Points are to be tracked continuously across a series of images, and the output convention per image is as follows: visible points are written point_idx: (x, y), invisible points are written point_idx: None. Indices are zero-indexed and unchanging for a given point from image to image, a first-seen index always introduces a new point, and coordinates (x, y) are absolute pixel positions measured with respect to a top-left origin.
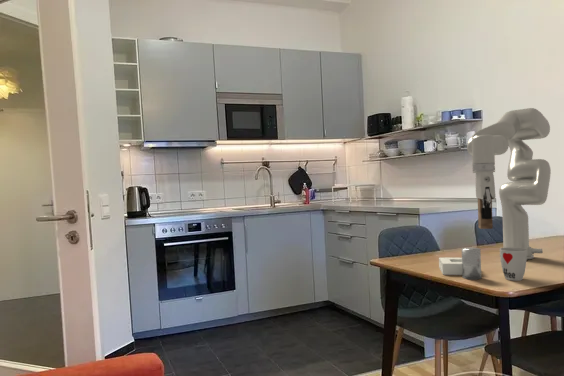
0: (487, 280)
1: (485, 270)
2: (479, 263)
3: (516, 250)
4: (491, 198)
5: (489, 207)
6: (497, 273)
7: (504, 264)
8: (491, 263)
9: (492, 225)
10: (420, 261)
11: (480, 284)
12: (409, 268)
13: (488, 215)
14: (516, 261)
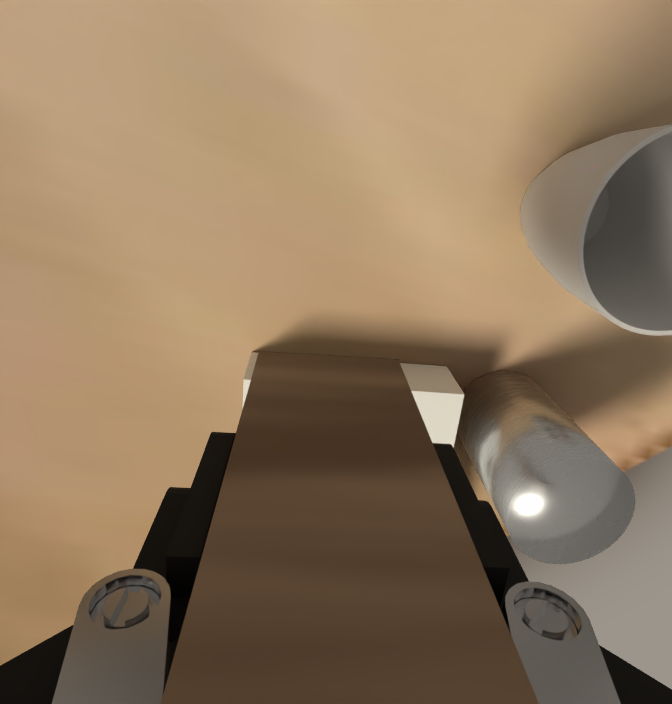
0: (572, 356)
1: (319, 296)
2: (576, 424)
3: (600, 173)
4: None
5: (553, 617)
6: (409, 252)
7: (634, 289)
8: (73, 187)
9: (404, 376)
10: (56, 577)
11: (645, 409)
12: None
13: (487, 517)
14: None
